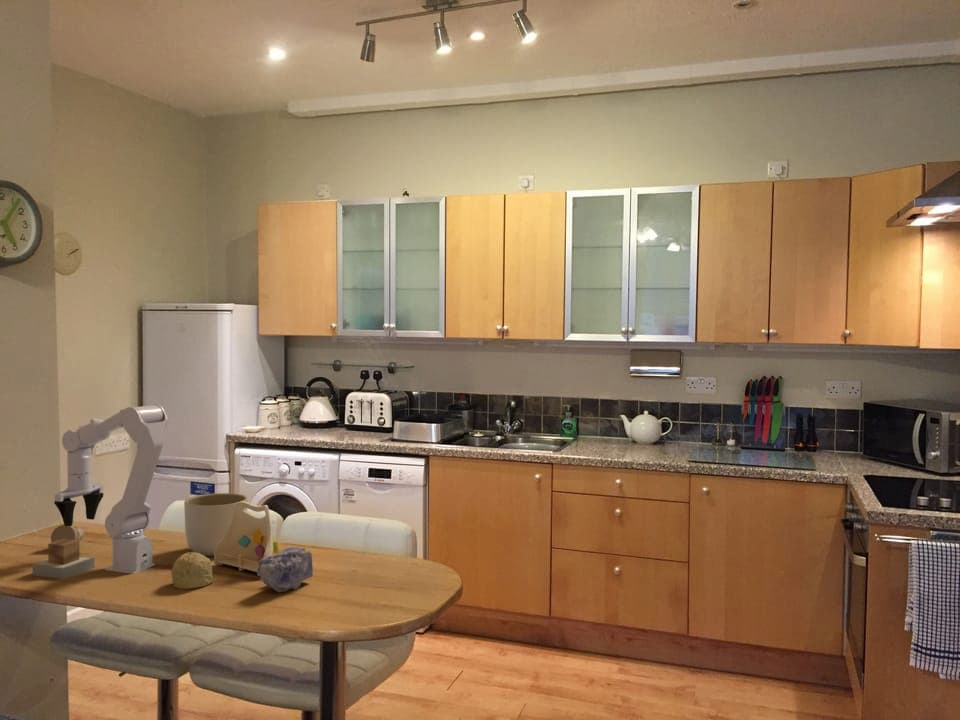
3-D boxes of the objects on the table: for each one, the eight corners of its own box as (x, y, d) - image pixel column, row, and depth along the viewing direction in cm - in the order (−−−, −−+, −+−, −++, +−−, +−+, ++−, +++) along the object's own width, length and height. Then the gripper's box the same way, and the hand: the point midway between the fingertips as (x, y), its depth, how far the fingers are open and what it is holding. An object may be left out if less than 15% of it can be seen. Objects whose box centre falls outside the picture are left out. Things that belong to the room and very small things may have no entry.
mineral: (284, 580, 191) (284, 541, 191) (315, 585, 187) (315, 545, 187) (246, 598, 178) (246, 556, 178) (278, 604, 174) (278, 561, 174)
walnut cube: (79, 559, 197) (79, 540, 196) (63, 564, 192) (63, 545, 192) (64, 557, 198) (64, 538, 198) (48, 562, 193) (48, 543, 193)
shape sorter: (294, 570, 199) (294, 504, 199) (263, 581, 190) (263, 512, 190) (244, 558, 210) (244, 495, 209) (212, 567, 201) (212, 502, 200)
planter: (209, 564, 203) (210, 508, 203) (171, 553, 213) (171, 500, 212) (259, 549, 218) (259, 497, 217) (221, 540, 227) (221, 490, 227)
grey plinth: (94, 568, 198) (94, 557, 198) (63, 580, 189) (63, 568, 189) (64, 565, 201) (64, 554, 201) (32, 576, 192) (32, 564, 192)
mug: (91, 539, 224) (90, 517, 218) (70, 564, 216) (68, 541, 210) (68, 531, 224) (66, 508, 219) (46, 555, 216) (44, 532, 210)
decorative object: (186, 592, 190) (160, 565, 187) (219, 566, 193) (195, 538, 189) (188, 607, 181) (161, 578, 178) (223, 579, 184) (197, 550, 181)
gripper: (88, 467, 213) (88, 515, 214) (45, 476, 199) (45, 527, 200) (108, 469, 211) (108, 517, 212) (66, 478, 197) (66, 529, 198)
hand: (79, 522), depth 206 cm, fingers open, 7 cm apart
